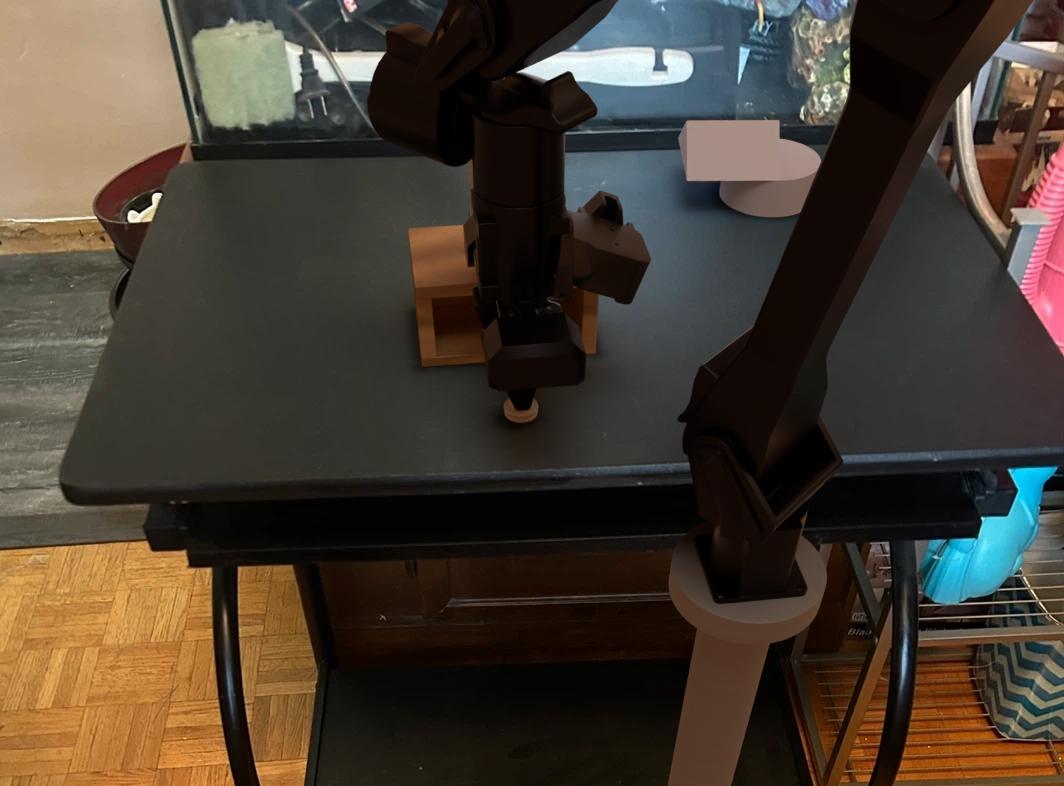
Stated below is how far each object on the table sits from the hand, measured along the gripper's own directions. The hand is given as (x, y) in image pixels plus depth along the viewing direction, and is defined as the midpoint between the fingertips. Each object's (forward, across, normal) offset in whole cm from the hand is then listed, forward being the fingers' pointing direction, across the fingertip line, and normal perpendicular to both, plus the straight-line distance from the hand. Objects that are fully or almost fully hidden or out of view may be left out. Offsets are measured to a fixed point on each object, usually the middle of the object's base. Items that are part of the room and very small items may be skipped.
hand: (521, 401), depth 76 cm
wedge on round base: (+2, +32, -26) cm, 42 cm away
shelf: (+1, +12, 0) cm, 12 cm away
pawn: (+1, 0, 0) cm, 1 cm away
